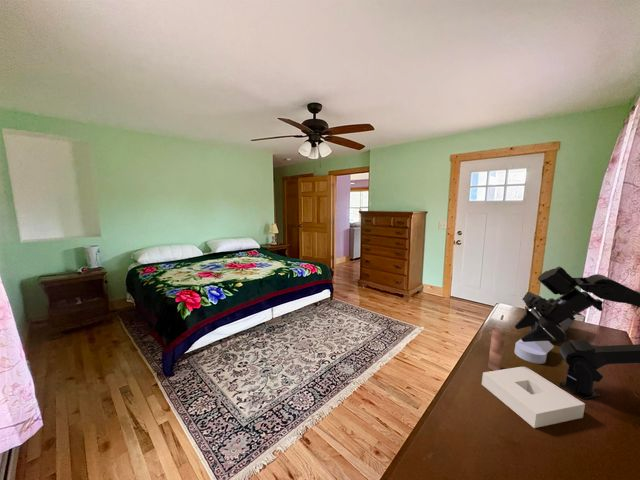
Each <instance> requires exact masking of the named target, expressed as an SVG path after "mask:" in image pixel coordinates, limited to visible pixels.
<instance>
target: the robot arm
mask: <svg viewBox="0 0 640 480" xmlns="http://www.w3.org/2000/svg"><path fill="white" fill-rule="evenodd" d="M537 281H539V282H540V283H541V284H542V285H543V286H544V287H545V288H546V289H548V291H550V292H551V293H552V294H553V295H560V296H559V297H557V298H556V299H554V298H552V297H551V298H548V299H546V298H545V297H542V296H540V295H537V294H535V293H534V292H531V291H526V293H525V295H524V296H523V298H522V301H523V302H524V304H525V305H526V306H524V309H525V310H524V312H525V313H524V314H523V316H522V317H521V318H520V319H519V320H518V322H517V323H516V324H515V325H514V328H515V329H516V330H521V329H526V328H529V326H533V325H535V328H534V329H533V330H529V332H528V333H526V334H525V335H523V336H522V337H521V338H520V339H521V340H522V341H523V342H534V341H549V342H554V343H555V342H558V343H562V342H563V343H562V344H561V345H559V349H558V350H559V353H560V354H561V357H562V358H563V360H564V361H565V362H566V364H567V365H568V368H567V373H566V376H565V381H560V382H558V383H559V385H560V386H561V387H563V388H564V389H566V390H567V391H569V392H571V393H573V394H574V395H576V396H577V397H579V398H581V399H583V400H586V399H591V398H592V399H593V398H597V397H600V393H599V392H597V391H595V390H594V387H595V383H599V382H600V381H602V379H603V377H604V376H603V374H601V372H600V371H599V369H601V368H602V367H603V368H604V367H605V366H608V365H619V364H620V365H622V364H623V365H625V364H626V365H627V364H631V365H633V364H640V343H639V344H638V343H637V344H636V343H635V344H619V345H616V344H615V345H593V344H591V343H590V341H589V340H587V338H585V339H584V338H583V339H577V340H575V339H574V340H573V339H568V341H566V340H567V335H568V334H567V333H566V332H565V331H563V330H562V329H561V328H560V327H561V325H560V323H562V322H564V321H566V320H567V319H569V318H570V319H571V320H574V321H575V320H576V318H575V317H573V316H576V315H578V314H580V313H582V312H583V311H586V310H587V309H589V308H591V307H593V308H595V309H596V310H597V311H600V312H602V311H603V304H604V301H602V300H605V301H610V302H613V303H621V304H627V305H632V306H635V307H637V308H640V291H638V290H635V289H632V288H630V287H629V286H628V287H627V286H626V285H624V284H622V283H619V282H618V281H615V280H614V279H612V278H610V277H608V276H606V275H604V274H596V273H595V274H592V275H589V276H588V277H587V276H586V277H572V275H570V274H569V273H567V271H566V270H565V269H564V268H563V267H562V266H557V267H556V268H552V269H549V270H546V271H544V272H542V273H541V274H540V275H538V278H537ZM577 287H578V288H579V289H581V290H582V291H580V290H579V289H578V288H577ZM591 294H592V295H594V296H595V297H597V298H594V297H593V296H592V295H591ZM539 318H540V319H539ZM564 341H565V342H564Z"/></svg>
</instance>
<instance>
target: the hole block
mask: <svg viewBox="0 0 640 480" xmlns="http://www.w3.org/2000/svg"><path fill="white" fill-rule="evenodd" d="M481 386H483V387H484V388H486V389H487V391H489V392H490V393H491V394H493V395H494V396H495V397H496V398H497V399H499V400H500V401H501V402H503V404H505V406H507V407H508V408H510V409H511V410H512V411H513V412H514V413H516V414H517V415H518V416H519V417H521V419H523V420H524V421H525V422H526V423H527V424H529V425H530V426H531V427H532V428H533V429H536V428H540V427H547V426H549V425H550V426H551V425H555V424H561V423H564V422H568V421H574V420H579V419H583V418H584V413H585V406H586V403H584V402H583V401H582V400H580V399H578V398H576V397H575V396H573V395H572V394H570V393H569V392H567V391H565V390H564V389H562V388H560V387H559V386H557V385H556V384H554V383H553V382H551V381H550V380H548V379H546V378H544V376H541V375H540V374H538V373H537V372H536V371H533V370H532V369H530V368H529V367H527V366H525V365H524V366H518V367H509V368H503V369H501V370H496V371H494V370H492V371H491V370H490V371H485V372H482V378H481Z"/></svg>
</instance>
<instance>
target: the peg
mask: <svg viewBox="0 0 640 480" xmlns="http://www.w3.org/2000/svg"><path fill="white" fill-rule="evenodd" d="M505 338H506V332H504V331H503V330H500V329H492V330H491V338H490V339H491V340H490V347H489V354H488V356H489V357H488V363H487V367H488V368H489V369H490V370H492V371H496V370H502V363H503V354H504V347H505Z"/></svg>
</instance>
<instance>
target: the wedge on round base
mask: <svg viewBox="0 0 640 480" xmlns="http://www.w3.org/2000/svg"><path fill="white" fill-rule="evenodd" d="M554 348H555V345H553V344H552V343H551V341H534V342H523V341H522V340H521V338H520V339H519V340H518V341H516V342H515V346H514V354H515V355H516V356H517V357H518V358H520V359H522V360H524V361H526V362H529V363H532V364H540V365H543V364H546V362H547V355H548V353H549V352H550V351H551V350H552V349H554Z"/></svg>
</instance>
